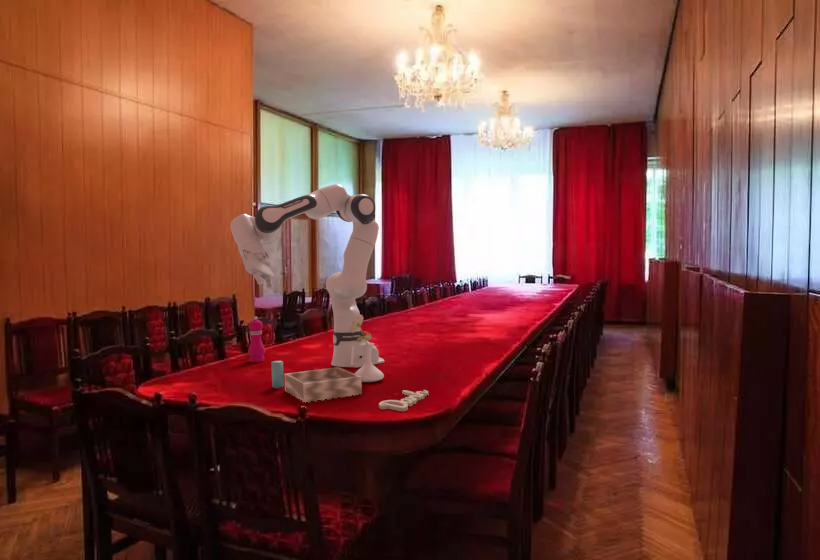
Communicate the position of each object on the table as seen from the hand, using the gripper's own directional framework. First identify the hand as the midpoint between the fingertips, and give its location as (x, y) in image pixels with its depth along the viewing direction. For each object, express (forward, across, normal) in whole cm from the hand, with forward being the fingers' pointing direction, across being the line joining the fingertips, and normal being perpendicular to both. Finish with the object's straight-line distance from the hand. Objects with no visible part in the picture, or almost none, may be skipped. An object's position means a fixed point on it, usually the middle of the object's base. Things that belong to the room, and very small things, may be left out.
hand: (265, 286), depth 231 cm
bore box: (+47, -12, -8) cm, 49 cm away
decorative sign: (+62, -22, -34) cm, 74 cm away
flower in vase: (+48, +5, -20) cm, 53 cm away
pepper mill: (+16, +43, +30) cm, 55 cm away
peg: (+37, -4, +8) cm, 39 cm away
